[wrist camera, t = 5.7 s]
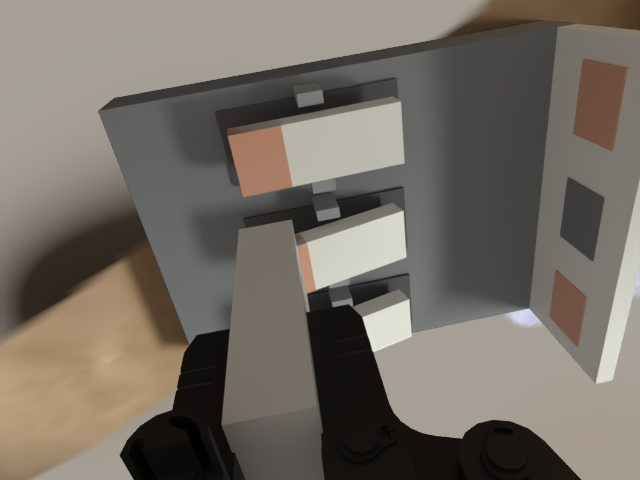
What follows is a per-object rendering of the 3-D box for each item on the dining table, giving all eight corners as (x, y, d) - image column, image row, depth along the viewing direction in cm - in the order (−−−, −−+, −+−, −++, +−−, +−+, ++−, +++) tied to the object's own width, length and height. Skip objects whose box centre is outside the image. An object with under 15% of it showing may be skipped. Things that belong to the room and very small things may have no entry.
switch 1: (392, 96, 22) (401, 101, 21) (396, 155, 23) (404, 163, 22) (227, 129, 21) (227, 136, 20) (242, 187, 23) (243, 197, 22)
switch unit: (543, 20, 25) (695, 36, 17) (520, 281, 34) (612, 380, 26) (114, 98, 24) (39, 158, 16) (205, 346, 33) (190, 472, 25)
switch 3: (398, 288, 28) (409, 299, 27) (401, 325, 30) (411, 336, 29) (278, 334, 26) (284, 347, 25) (287, 371, 28) (294, 385, 27)
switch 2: (392, 202, 25) (403, 210, 24) (395, 248, 27) (406, 257, 26) (255, 246, 23) (262, 257, 22) (267, 293, 25) (274, 305, 24)
